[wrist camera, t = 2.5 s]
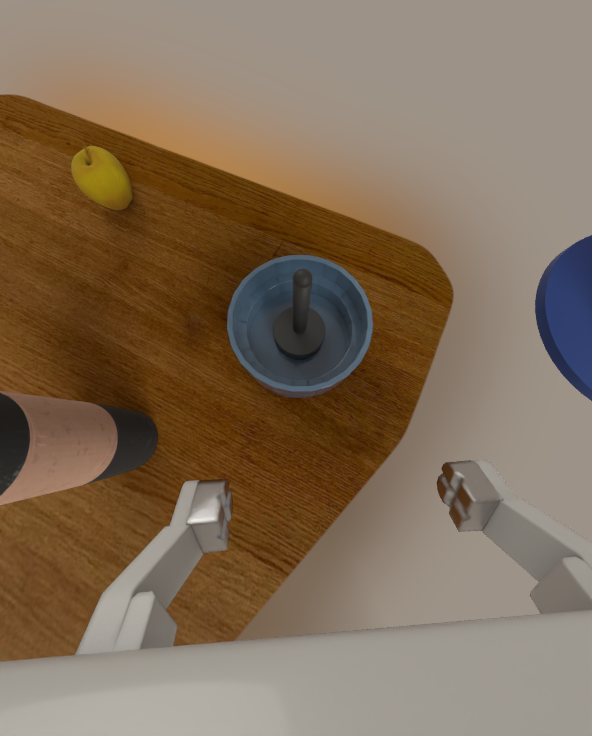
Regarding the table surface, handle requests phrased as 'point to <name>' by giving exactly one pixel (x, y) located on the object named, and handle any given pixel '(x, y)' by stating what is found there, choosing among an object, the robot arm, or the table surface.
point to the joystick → (299, 322)
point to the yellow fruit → (102, 178)
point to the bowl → (275, 294)
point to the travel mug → (66, 444)
